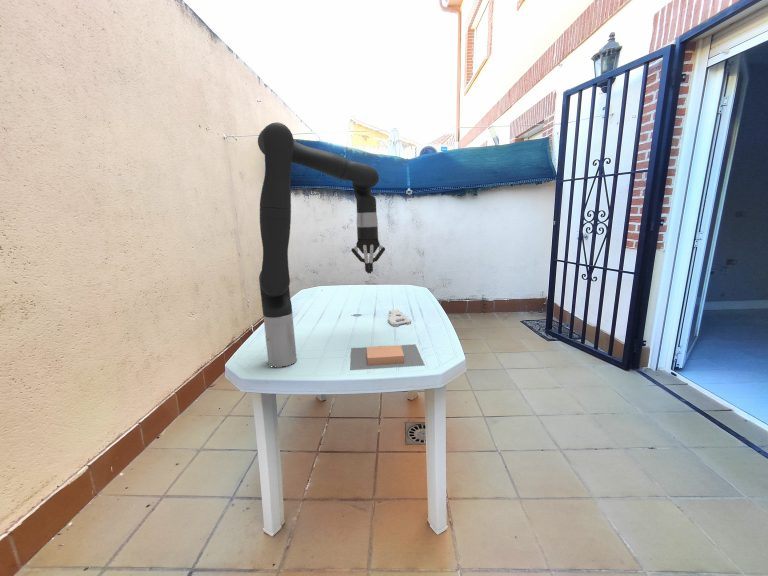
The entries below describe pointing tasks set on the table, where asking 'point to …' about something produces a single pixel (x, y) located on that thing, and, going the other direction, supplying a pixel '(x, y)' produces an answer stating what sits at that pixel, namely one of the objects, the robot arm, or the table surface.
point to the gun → (397, 318)
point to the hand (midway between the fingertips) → (369, 272)
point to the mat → (360, 362)
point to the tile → (385, 355)
